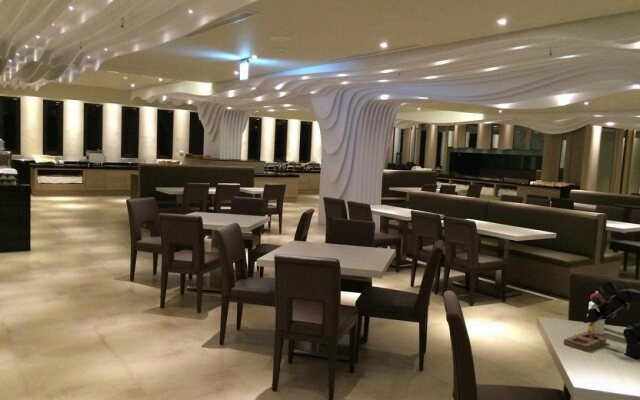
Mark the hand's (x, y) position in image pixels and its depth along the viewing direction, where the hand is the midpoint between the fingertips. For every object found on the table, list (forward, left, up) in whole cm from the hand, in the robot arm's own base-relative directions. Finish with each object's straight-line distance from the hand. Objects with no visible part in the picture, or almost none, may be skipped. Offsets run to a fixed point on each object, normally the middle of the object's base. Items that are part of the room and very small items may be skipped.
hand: (589, 321), depth 274 cm
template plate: (-3, +5, -10) cm, 12 cm away
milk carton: (+9, -17, -11) cm, 22 cm away
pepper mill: (+17, -26, -11) cm, 33 cm away
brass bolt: (-1, 0, -10) cm, 10 cm away
